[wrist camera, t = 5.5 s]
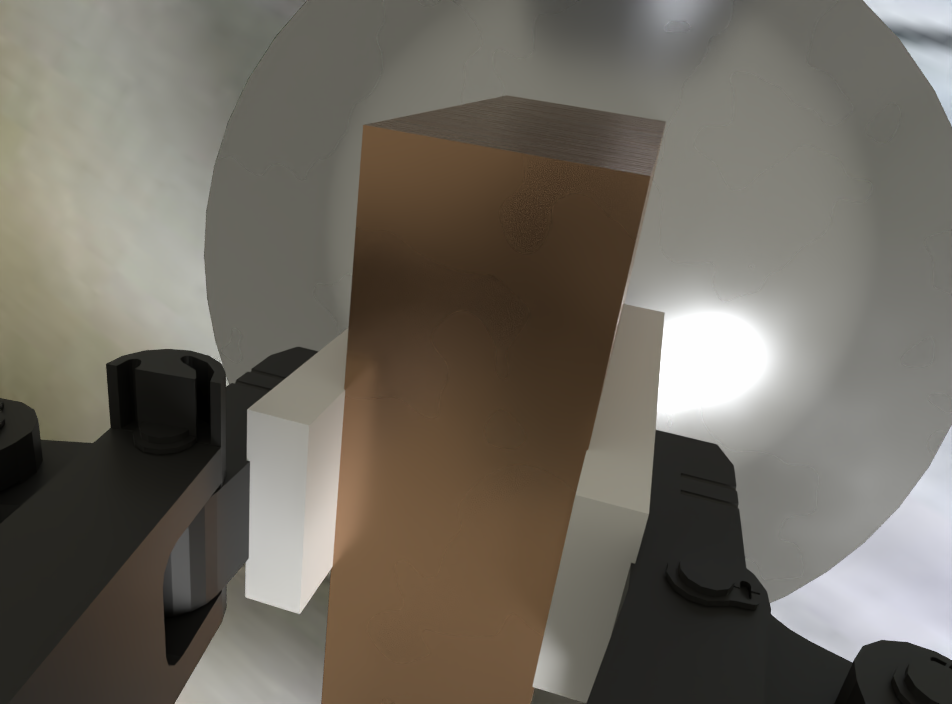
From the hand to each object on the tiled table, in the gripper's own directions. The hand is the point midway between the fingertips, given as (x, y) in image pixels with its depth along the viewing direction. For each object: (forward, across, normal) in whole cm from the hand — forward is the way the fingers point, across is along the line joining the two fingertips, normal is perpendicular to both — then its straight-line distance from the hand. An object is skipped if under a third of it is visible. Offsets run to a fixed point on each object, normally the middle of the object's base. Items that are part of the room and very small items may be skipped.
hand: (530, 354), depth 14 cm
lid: (+3, 0, 0) cm, 3 cm away
